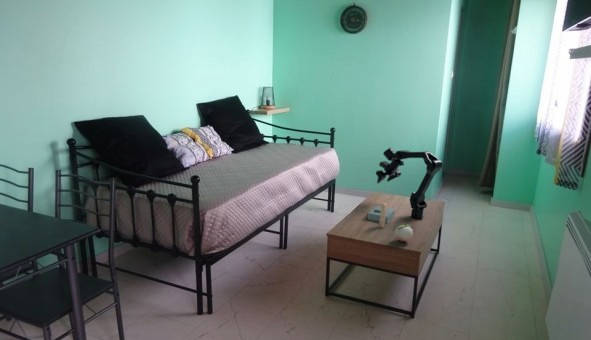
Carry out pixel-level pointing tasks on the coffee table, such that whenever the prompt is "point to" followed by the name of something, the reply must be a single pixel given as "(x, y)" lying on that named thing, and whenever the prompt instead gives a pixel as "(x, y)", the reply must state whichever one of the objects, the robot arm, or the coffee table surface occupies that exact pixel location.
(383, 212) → the pin
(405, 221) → the coffee table surface
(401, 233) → the decorative fruit
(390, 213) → the hole block
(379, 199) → the coffee table surface
